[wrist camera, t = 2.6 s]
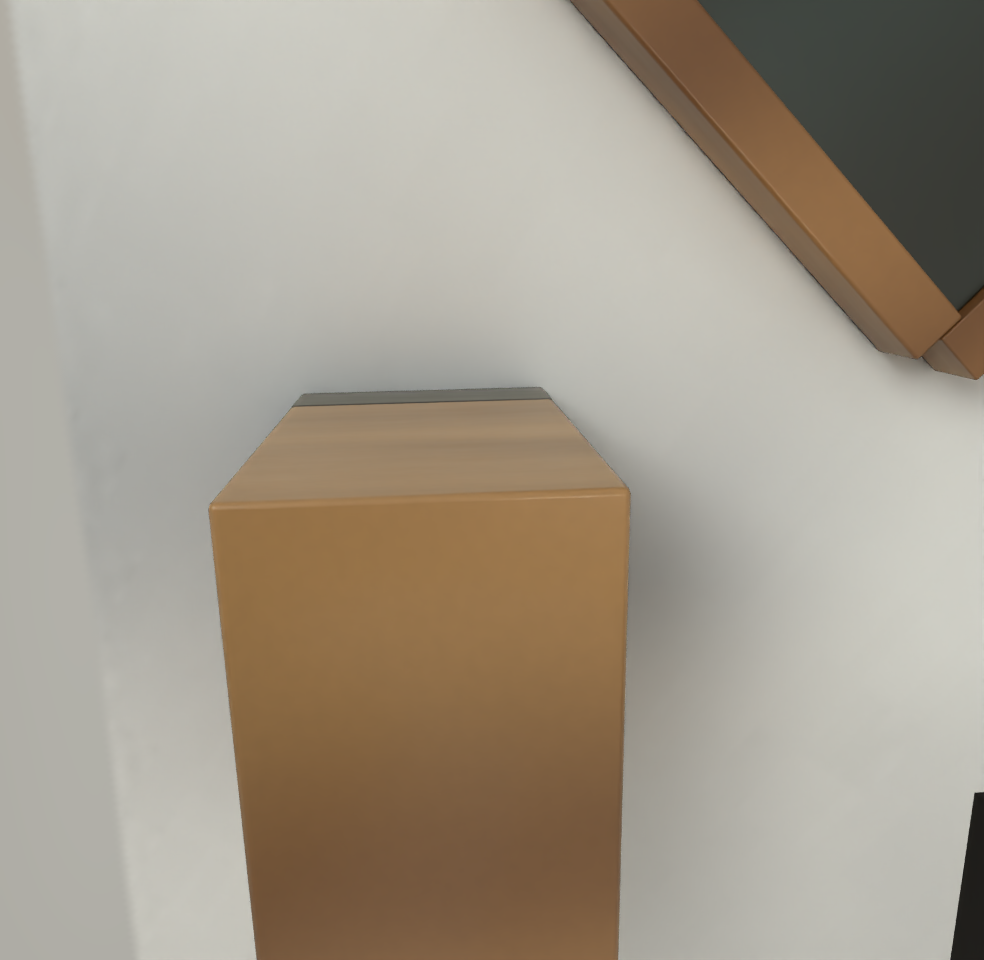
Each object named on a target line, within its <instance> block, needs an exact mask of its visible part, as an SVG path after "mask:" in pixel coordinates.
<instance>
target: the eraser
mask: <svg viewBox="0 0 984 960" xmlns="http://www.w3.org/2000/svg"><path fill="white" fill-rule="evenodd" d="M630 502H631V493H630V491H629V488H628V487H627V486H626V485H625V484H624V483H623V481H622V480H621V479H620V478H619V477H618V476H617V474H616V473H615V472H614V471H613V470H612V469H611V468H610V466H609V465H608V464H607V463H606V462H605V461H604V459H603V458H602V457H601V456H600V455H599V454H598V453H597V451H596V450H595V449H594V448H593V447H592V446H591V444H590V443H589V442H588V441H587V440H586V439H585V438H584V436H583V435H582V434H581V433H580V432H579V431H578V429H577V428H576V427H575V426H574V425H573V424H572V422H571V421H570V420H569V419H568V418H567V417H566V416H565V414H564V413H563V412H562V411H561V410H560V409H559V407H558V406H557V405H556V404H555V403H554V402H553V401H552V399H551V398H550V396H549V395H548V394H547V393H546V392H545V391H544V390H543V388H541V387H526V388H491V389H455V390H420V391H385V392H349V393H314V394H303V395H301V397H300V398H299V399H298V400H297V401H296V402H295V404H294V405H293V406H292V408H291V409H290V410H289V411H288V413H287V414H286V415H285V416H284V417H283V418H282V420H281V421H280V422H279V423H278V424H277V426H276V427H275V428H274V429H273V430H272V431H271V433H270V434H269V435H268V436H267V437H266V439H265V440H264V441H263V442H262V443H261V445H260V446H259V447H258V448H257V449H256V450H255V452H254V453H253V454H252V455H251V456H250V458H249V459H248V460H247V461H246V462H245V463H244V465H243V466H242V467H241V468H240V469H239V471H238V472H237V473H236V474H235V475H234V476H233V478H232V479H231V480H230V481H229V482H228V484H227V485H226V486H225V487H224V488H223V489H222V491H221V492H220V493H219V494H218V495H217V497H216V498H215V499H214V500H213V501H212V503H211V504H210V506H209V509H208V510H209V519H210V529H211V538H212V547H213V557H214V566H215V575H216V585H217V594H218V603H219V613H220V622H221V631H222V641H223V650H224V659H225V669H226V678H227V688H228V697H229V706H230V716H231V725H232V734H233V744H234V753H235V762H236V772H237V781H238V790H239V800H240V809H241V818H242V828H243V837H244V846H245V856H246V865H247V874H248V884H249V893H250V902H251V912H252V921H253V930H254V940H255V949H256V958H257V960H618V949H619V912H620V875H621V837H622V800H623V763H624V725H625V688H626V651H627V614H628V576H629V539H630Z"/></svg>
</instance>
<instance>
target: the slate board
mask: <svg viewBox="0 0 984 960" xmlns="http://www.w3.org/2000/svg"><path fill="white" fill-rule="evenodd" d="M570 1H571V2H572V3H573V4H574V5H575V6H576V8H577V9H578V10H579V11H580V12H581V13H582V14H583V15H584V17H585V18H586V19H587V20H588V21H589V22H590V23H591V25H592V26H593V27H594V28H595V29H596V30H597V31H598V33H599V34H600V35H601V36H602V37H603V38H604V39H605V40H606V42H607V43H608V44H609V45H610V46H611V47H612V48H613V50H614V51H615V52H616V53H617V54H618V55H619V56H620V57H621V59H622V60H623V61H624V62H625V63H626V64H627V65H628V67H629V68H630V69H631V70H632V71H633V72H634V73H635V74H636V76H637V77H638V78H639V79H640V80H641V81H642V82H643V84H644V85H645V86H646V87H647V88H648V89H649V90H650V91H651V93H652V94H653V95H654V96H655V97H656V98H657V99H658V101H659V102H660V103H661V104H662V105H663V106H664V107H665V109H666V110H667V111H668V112H669V113H670V114H671V115H672V116H673V118H674V119H675V120H676V121H677V122H678V123H679V124H680V126H681V127H682V128H683V129H684V130H685V131H686V132H687V133H688V135H689V136H690V137H691V138H692V139H693V140H694V141H695V143H696V144H697V145H698V146H699V147H700V148H701V149H702V150H703V152H704V153H705V154H706V155H707V156H708V157H709V158H710V160H711V161H712V162H713V163H714V164H715V165H716V166H717V167H718V169H719V170H720V171H721V172H722V173H723V174H724V175H725V177H726V178H727V179H728V180H729V181H730V182H731V183H732V184H733V186H734V187H735V188H736V189H737V190H738V191H739V192H740V194H741V195H742V196H743V197H744V198H745V199H746V200H747V202H748V203H749V204H750V205H751V206H752V207H753V208H754V209H755V211H756V212H757V213H758V214H759V215H760V216H761V217H762V219H763V220H764V221H765V222H766V223H767V224H768V225H769V226H770V228H771V229H772V230H773V231H774V232H775V233H776V234H777V236H778V237H779V238H780V239H781V240H782V241H783V242H784V243H785V245H786V246H787V247H788V248H789V249H790V250H791V251H792V253H793V254H794V255H795V256H796V257H797V258H798V259H799V260H800V262H801V263H802V264H803V265H804V266H805V267H806V268H807V270H808V271H809V272H810V273H811V274H812V275H813V276H814V278H815V279H816V280H817V281H818V282H819V283H820V284H821V285H822V287H823V288H824V289H825V290H826V291H827V292H828V293H829V295H830V296H831V297H832V298H833V299H834V300H835V301H836V302H837V304H838V305H839V306H840V307H841V308H842V309H843V310H844V312H845V313H846V314H847V315H848V316H849V317H850V318H851V319H852V321H853V322H854V323H855V324H856V325H857V326H858V327H859V329H860V330H861V331H862V332H863V333H864V334H865V335H866V336H867V338H868V339H869V340H870V341H871V342H872V343H873V344H874V346H875V347H876V348H877V349H878V350H879V351H881V352H885V353H890V354H894V355H899V356H903V357H908V358H912V359H918V358H920V357H921V356H922V357H923V358H924V359H925V360H926V361H927V362H928V363H929V365H930V366H931V367H932V368H933V369H934V370H935V371H940V372H944V373H948V374H953V375H957V376H961V377H965V378H970V379H974V380H977V379H979V378H980V377H981V376H982V375H983V374H984V0H570Z"/></svg>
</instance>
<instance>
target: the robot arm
mask: <svg viewBox="0 0 984 960" xmlns="http://www.w3.org/2000/svg"><path fill="white" fill-rule="evenodd" d="M950 960H984V792H980V793H975V794H974V801H973V808H972V815H971V822H970V828H969V835H968V842H967V849H966V856H965V863H964V870H963V877H962V883H961V890H960V897H959V904H958V911H957V918H956V925H955V931H954V938H953V945H952V952H951V959H950Z"/></svg>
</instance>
